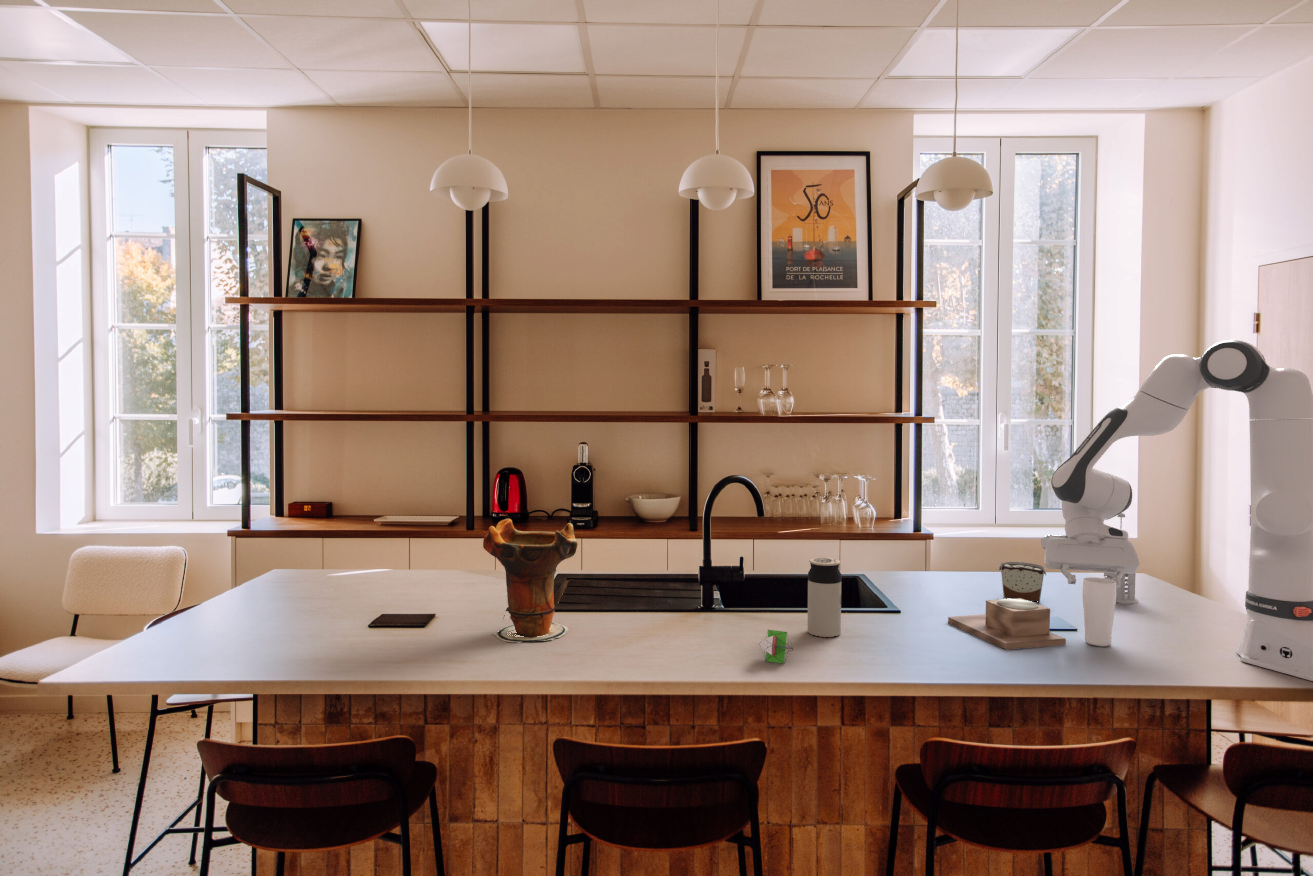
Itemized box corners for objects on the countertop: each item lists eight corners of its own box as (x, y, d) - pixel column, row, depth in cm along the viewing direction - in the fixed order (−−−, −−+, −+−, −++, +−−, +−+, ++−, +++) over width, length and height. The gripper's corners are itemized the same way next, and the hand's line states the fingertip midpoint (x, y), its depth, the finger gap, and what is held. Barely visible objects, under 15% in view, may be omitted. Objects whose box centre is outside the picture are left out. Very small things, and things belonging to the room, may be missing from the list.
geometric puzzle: (766, 642, 171) (761, 620, 166) (796, 645, 168) (792, 623, 163) (760, 669, 166) (754, 647, 161) (791, 673, 163) (786, 651, 158)
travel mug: (805, 636, 182) (805, 562, 181) (810, 627, 190) (810, 556, 189) (838, 639, 179) (839, 565, 179) (842, 630, 187) (843, 558, 186)
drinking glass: (1119, 649, 172) (1121, 584, 172) (1087, 647, 174) (1088, 583, 173) (1108, 640, 179) (1109, 577, 178) (1077, 638, 180) (1078, 576, 180)
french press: (1128, 595, 221) (1130, 510, 220) (1149, 605, 210) (1152, 516, 209) (1092, 594, 222) (1095, 510, 221) (1112, 604, 211) (1115, 516, 210)
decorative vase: (581, 642, 176) (574, 523, 174) (481, 650, 174) (474, 530, 173) (583, 618, 196) (577, 511, 195) (494, 624, 195) (488, 517, 194)
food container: (1047, 598, 217) (1048, 564, 217) (1045, 603, 212) (1046, 568, 212) (1001, 593, 224) (1002, 559, 223) (998, 597, 219) (998, 563, 218)
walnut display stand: (1065, 644, 175) (1066, 611, 175) (1006, 649, 172) (1006, 616, 171) (1002, 618, 197) (1002, 589, 196) (948, 622, 193) (948, 592, 193)
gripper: (1042, 527, 190) (1048, 574, 181) (1134, 531, 184) (1145, 580, 175) (1038, 541, 194) (1044, 588, 186) (1129, 546, 188) (1139, 594, 179)
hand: (1094, 584), depth 180 cm, fingers open, 8 cm apart
